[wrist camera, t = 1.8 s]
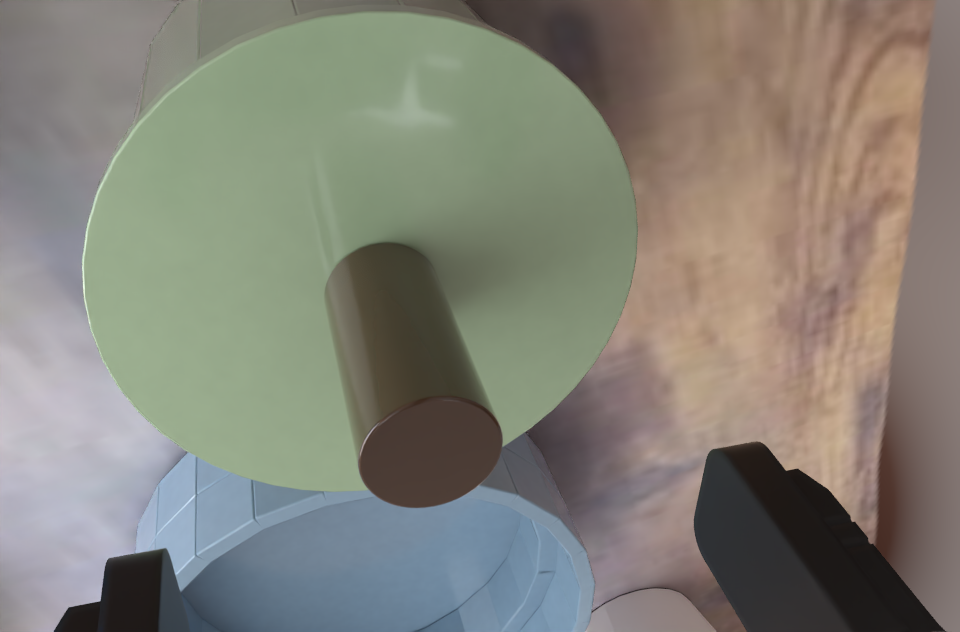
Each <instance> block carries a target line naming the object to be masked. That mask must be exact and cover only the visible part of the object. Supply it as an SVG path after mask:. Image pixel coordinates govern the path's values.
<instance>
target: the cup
mask: <svg viewBox="0 0 960 632" xmlns="http://www.w3.org/2000/svg"><path fill="white" fill-rule="evenodd" d="M585 632H717V631H716V630H715V629H714V628H713V627H712V626H711V624H710V623H709V622H708V621H707V620H706V619H705V618H704V616H703V615H702V614H701V613H700V612H699V611H698V610H697V608H696V607H695V606H694V605H693V604H692V603H691V602H690V600H689V599H687V598H686V597H685V596H684V595H683V594H681V593H679V592H676V591H673V590H670V589H658V588H653V589H646V590H639V591H635V592H632V593H629V594H626V595H622V596H620V597H618V598H616V599H614V600H612V601H610V602H608V603H606V604H604V605H602V606H601V607H599V608H598V609H597V610H595V611H594V612H592V613H591V620H590V623H589V625H588V627H587V629H586V631H585Z"/></svg>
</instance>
